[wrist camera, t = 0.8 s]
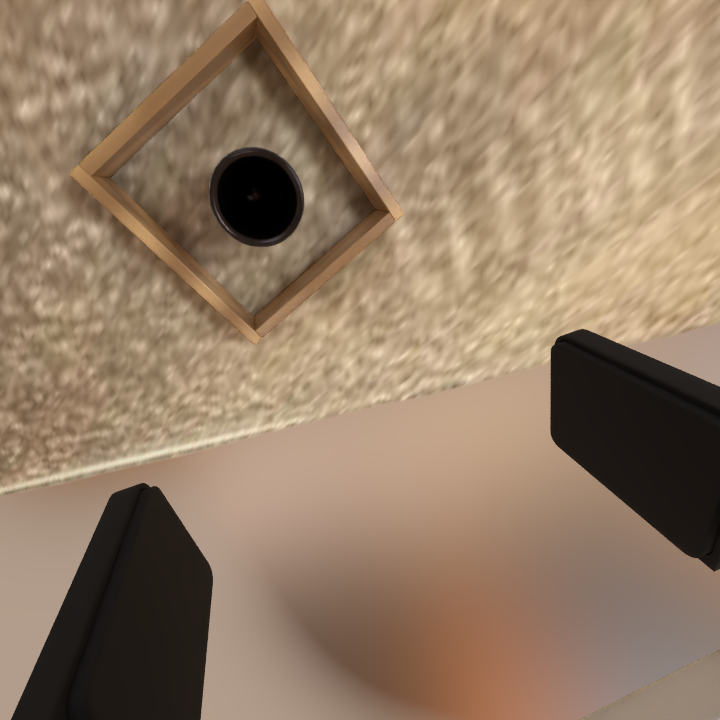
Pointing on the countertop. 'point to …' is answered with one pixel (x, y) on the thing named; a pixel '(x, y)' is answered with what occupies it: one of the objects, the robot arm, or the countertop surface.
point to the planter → (256, 196)
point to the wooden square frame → (173, 98)
